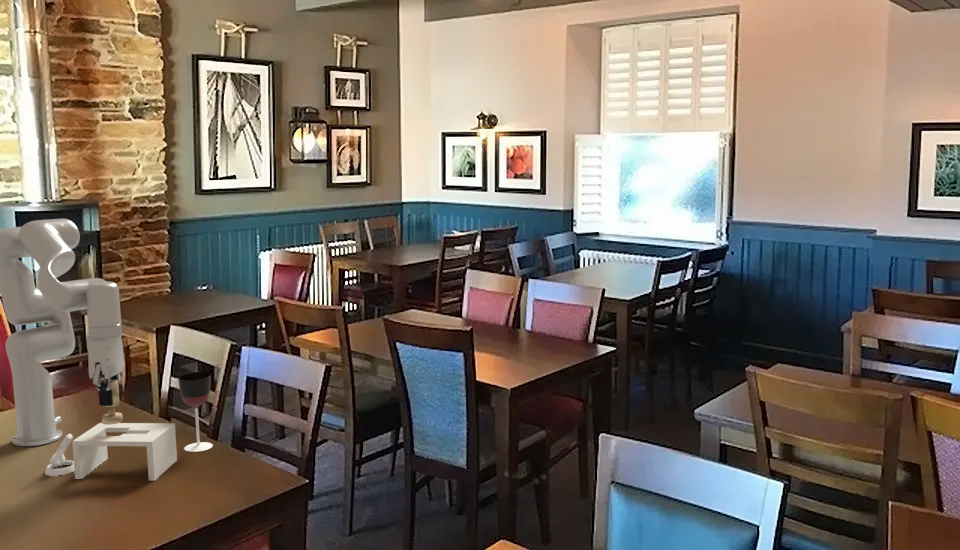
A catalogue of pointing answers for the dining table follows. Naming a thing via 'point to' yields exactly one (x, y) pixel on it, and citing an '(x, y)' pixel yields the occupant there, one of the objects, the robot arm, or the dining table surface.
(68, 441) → the hook
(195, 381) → the wineglass
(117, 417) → the peg
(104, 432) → the keyhole shelf
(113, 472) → the dining table surface
